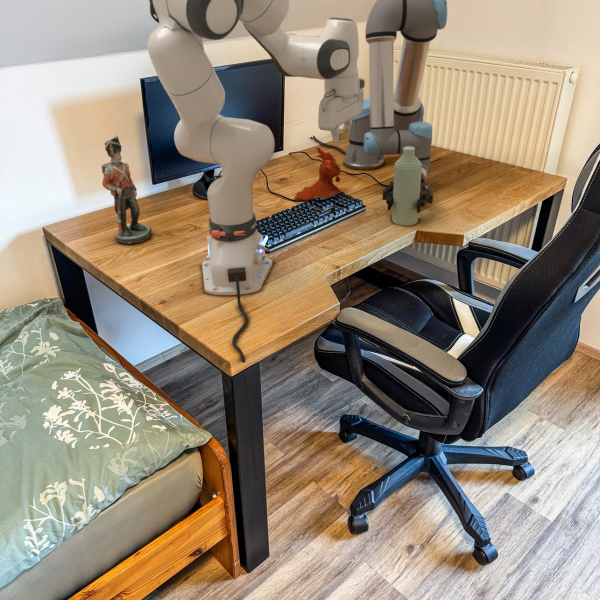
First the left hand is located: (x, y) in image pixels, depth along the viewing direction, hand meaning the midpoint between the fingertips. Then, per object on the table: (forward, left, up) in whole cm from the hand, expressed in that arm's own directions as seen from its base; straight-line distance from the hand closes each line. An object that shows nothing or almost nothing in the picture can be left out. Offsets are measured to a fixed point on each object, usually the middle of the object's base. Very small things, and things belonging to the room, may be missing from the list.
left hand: (341, 138), depth 155 cm
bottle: (+3, -20, -27) cm, 33 cm away
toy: (+27, +6, -27) cm, 39 cm away
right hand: (-1, -18, -21) cm, 27 cm away
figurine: (-2, +62, -27) cm, 68 cm away
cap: (0, 0, +2) cm, 2 cm away
